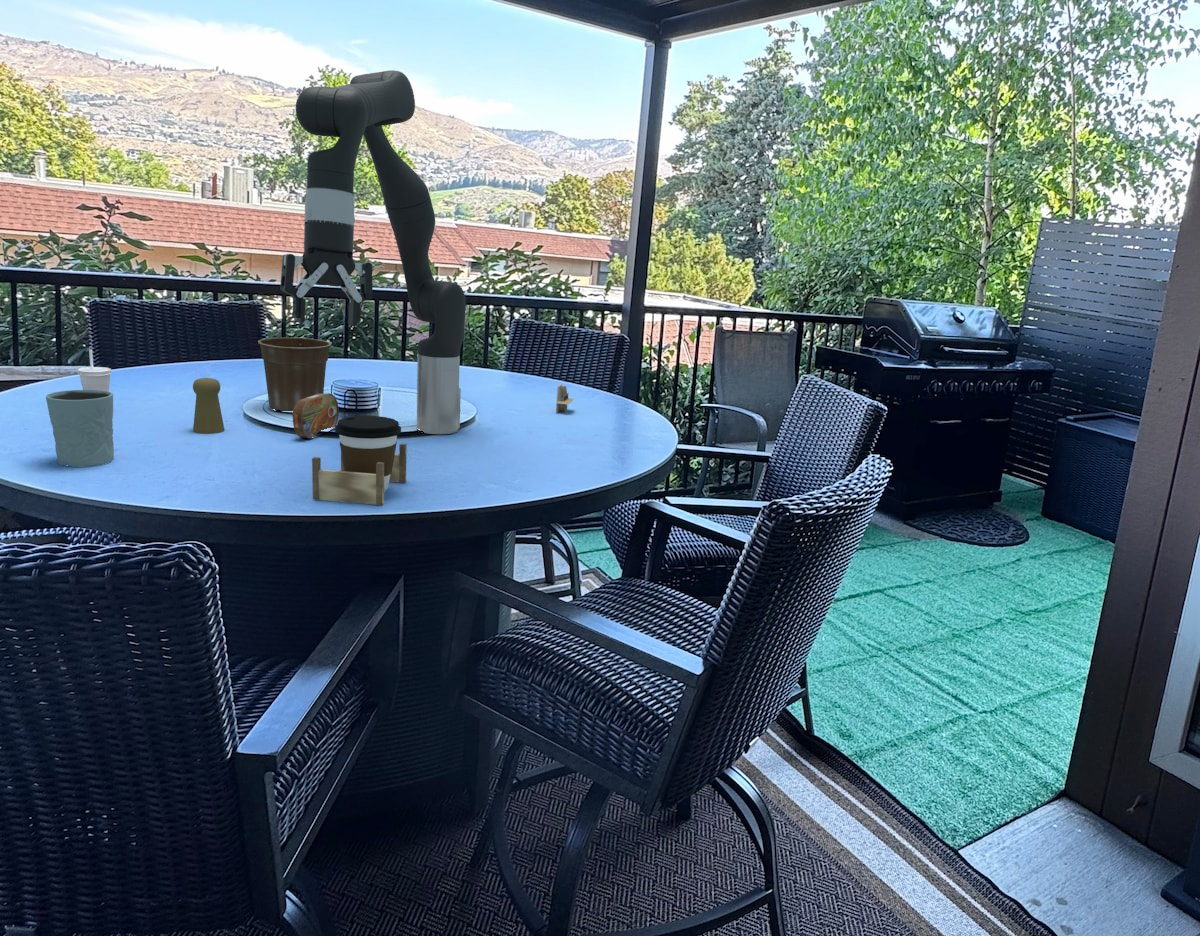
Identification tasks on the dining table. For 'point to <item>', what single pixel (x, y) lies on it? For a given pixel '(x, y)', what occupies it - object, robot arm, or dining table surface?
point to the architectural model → (562, 398)
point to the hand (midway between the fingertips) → (326, 323)
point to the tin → (315, 414)
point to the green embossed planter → (82, 426)
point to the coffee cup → (368, 443)
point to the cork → (207, 407)
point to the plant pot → (293, 369)
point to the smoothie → (95, 376)
